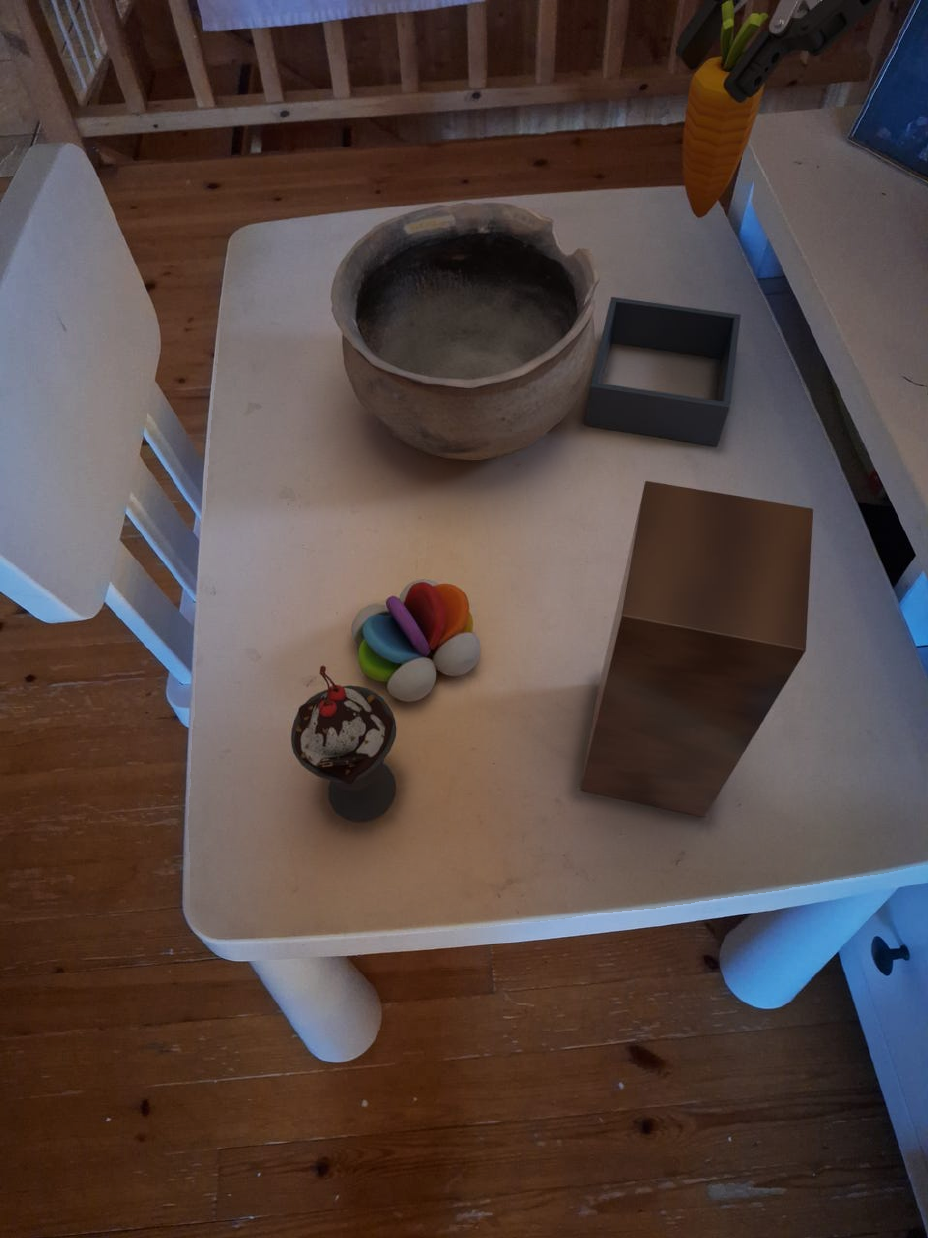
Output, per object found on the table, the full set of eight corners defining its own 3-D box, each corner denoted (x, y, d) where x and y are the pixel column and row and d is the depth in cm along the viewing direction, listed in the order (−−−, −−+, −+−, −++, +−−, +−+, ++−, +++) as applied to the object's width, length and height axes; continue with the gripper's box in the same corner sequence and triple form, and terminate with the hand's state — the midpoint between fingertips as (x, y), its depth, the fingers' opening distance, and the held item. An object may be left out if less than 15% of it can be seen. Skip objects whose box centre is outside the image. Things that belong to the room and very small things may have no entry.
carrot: (667, 195, 72) (704, -15, 59) (730, 199, 72) (781, -12, 59) (666, 234, 70) (704, 23, 57) (731, 238, 69) (785, 26, 56)
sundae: (354, 730, 68) (323, 628, 55) (425, 778, 66) (410, 683, 53) (297, 799, 65) (251, 708, 53) (369, 851, 63) (339, 769, 51)
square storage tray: (728, 355, 88) (741, 314, 84) (717, 446, 82) (729, 407, 78) (605, 337, 90) (611, 296, 86) (585, 425, 84) (590, 385, 80)
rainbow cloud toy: (497, 662, 71) (498, 613, 65) (391, 723, 69) (381, 678, 62) (441, 587, 75) (437, 534, 69) (339, 642, 72) (324, 592, 66)
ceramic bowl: (624, 466, 81) (649, 334, 69) (395, 535, 78) (376, 410, 65) (531, 312, 92) (537, 174, 80) (327, 367, 89) (299, 231, 76)
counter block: (716, 706, 69) (813, 508, 48) (705, 817, 64) (806, 650, 44) (599, 682, 70) (645, 479, 49) (579, 790, 65) (621, 615, 45)
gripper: (802, -278, 54) (616, 3, 61) (991, -208, 47) (757, 98, 55) (840, -184, 60) (665, 62, 67) (1012, -111, 53) (798, 154, 60)
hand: (708, 77), depth 61 cm, fingers closed on carrot, 4 cm apart
